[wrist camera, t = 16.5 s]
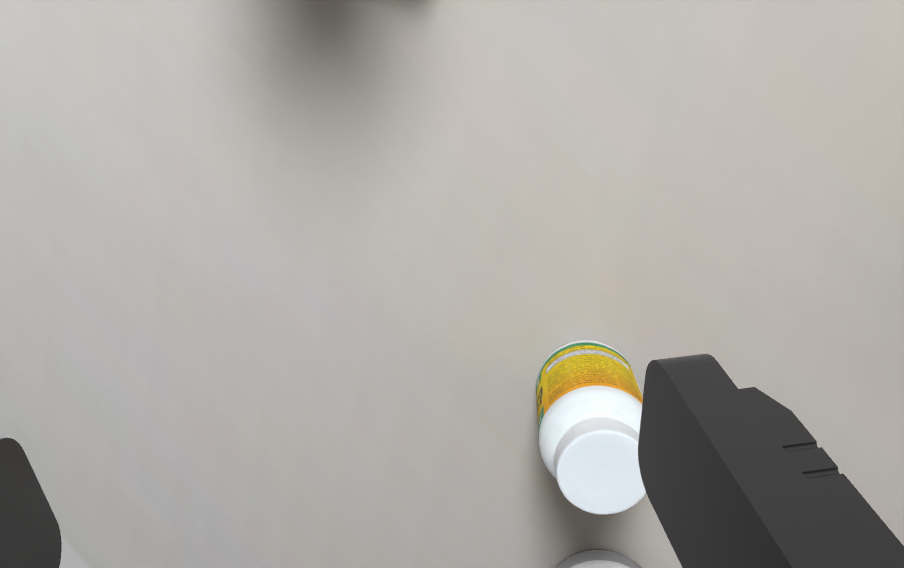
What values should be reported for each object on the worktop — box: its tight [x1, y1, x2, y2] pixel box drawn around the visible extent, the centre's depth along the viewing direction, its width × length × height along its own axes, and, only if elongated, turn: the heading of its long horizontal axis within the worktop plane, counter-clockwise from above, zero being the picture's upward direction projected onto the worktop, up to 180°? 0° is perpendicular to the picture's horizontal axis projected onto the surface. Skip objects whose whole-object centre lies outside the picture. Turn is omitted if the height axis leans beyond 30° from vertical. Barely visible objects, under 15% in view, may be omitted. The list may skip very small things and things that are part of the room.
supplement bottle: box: [536, 340, 646, 515], centre depth 35 cm, size 5×5×10 cm
